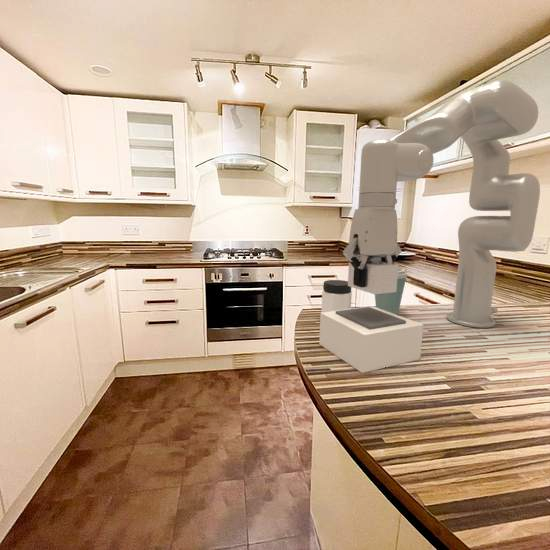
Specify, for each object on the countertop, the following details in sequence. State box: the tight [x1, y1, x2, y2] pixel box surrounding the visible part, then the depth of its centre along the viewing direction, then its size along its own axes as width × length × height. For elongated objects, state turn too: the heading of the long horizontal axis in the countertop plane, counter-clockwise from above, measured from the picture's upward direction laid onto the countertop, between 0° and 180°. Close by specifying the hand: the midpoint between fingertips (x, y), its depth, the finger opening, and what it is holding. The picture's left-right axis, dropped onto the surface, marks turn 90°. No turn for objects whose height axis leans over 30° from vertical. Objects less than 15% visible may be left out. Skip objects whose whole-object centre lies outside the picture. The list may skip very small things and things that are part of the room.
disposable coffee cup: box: [374, 267, 408, 315], centre depth 101 cm, size 11×11×15 cm
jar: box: [321, 279, 353, 313], centre depth 93 cm, size 9×8×12 cm
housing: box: [347, 256, 399, 295], centre depth 69 cm, size 6×9×7 cm, turn 24°
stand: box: [318, 305, 424, 374], centre depth 72 cm, size 16×16×9 cm
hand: (371, 284), depth 70 cm, fingers closed on housing, 6 cm apart
